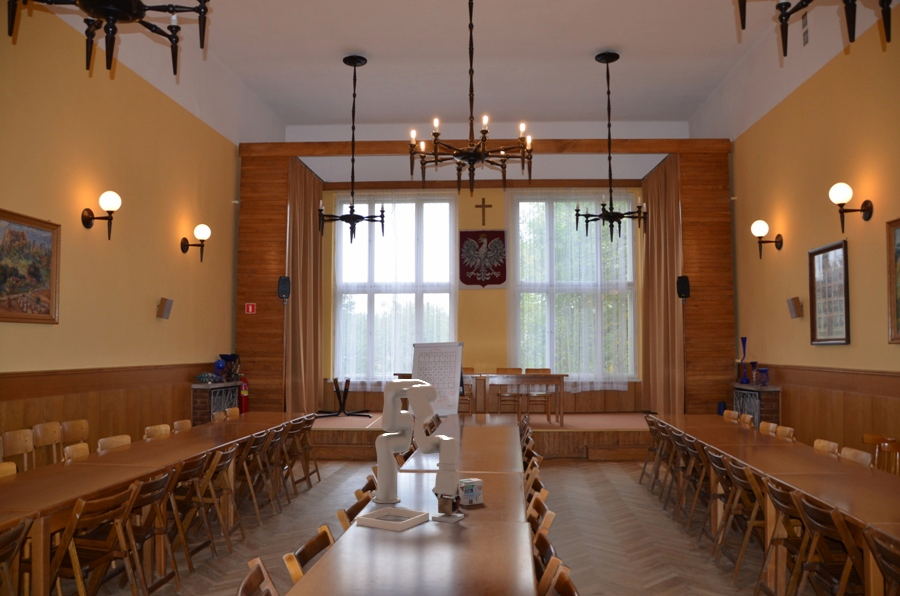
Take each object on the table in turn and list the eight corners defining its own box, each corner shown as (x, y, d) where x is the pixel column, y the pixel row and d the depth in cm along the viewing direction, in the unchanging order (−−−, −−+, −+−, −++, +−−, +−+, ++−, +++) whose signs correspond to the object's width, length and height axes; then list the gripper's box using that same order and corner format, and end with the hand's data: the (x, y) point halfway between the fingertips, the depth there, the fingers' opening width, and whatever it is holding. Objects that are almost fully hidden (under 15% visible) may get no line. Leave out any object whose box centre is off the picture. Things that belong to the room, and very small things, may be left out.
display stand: (431, 520, 297) (431, 516, 297) (443, 515, 305) (443, 511, 305) (452, 522, 292) (452, 519, 292) (464, 517, 300) (464, 514, 300)
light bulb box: (464, 505, 324) (464, 482, 325) (456, 503, 330) (456, 479, 330) (483, 503, 329) (483, 479, 330) (475, 500, 335) (475, 477, 336)
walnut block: (438, 512, 298) (438, 498, 298) (445, 510, 303) (445, 495, 303) (450, 514, 295) (450, 500, 295) (457, 511, 300) (457, 497, 300)
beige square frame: (356, 524, 290) (356, 516, 290) (387, 513, 308) (387, 506, 308) (400, 531, 279) (400, 523, 279) (429, 519, 297) (429, 512, 297)
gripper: (426, 466, 301) (425, 509, 300) (461, 470, 292) (461, 514, 291) (435, 464, 308) (435, 506, 306) (469, 467, 299) (469, 510, 298)
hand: (447, 509), depth 299 cm, fingers closed on walnut block, 5 cm apart
